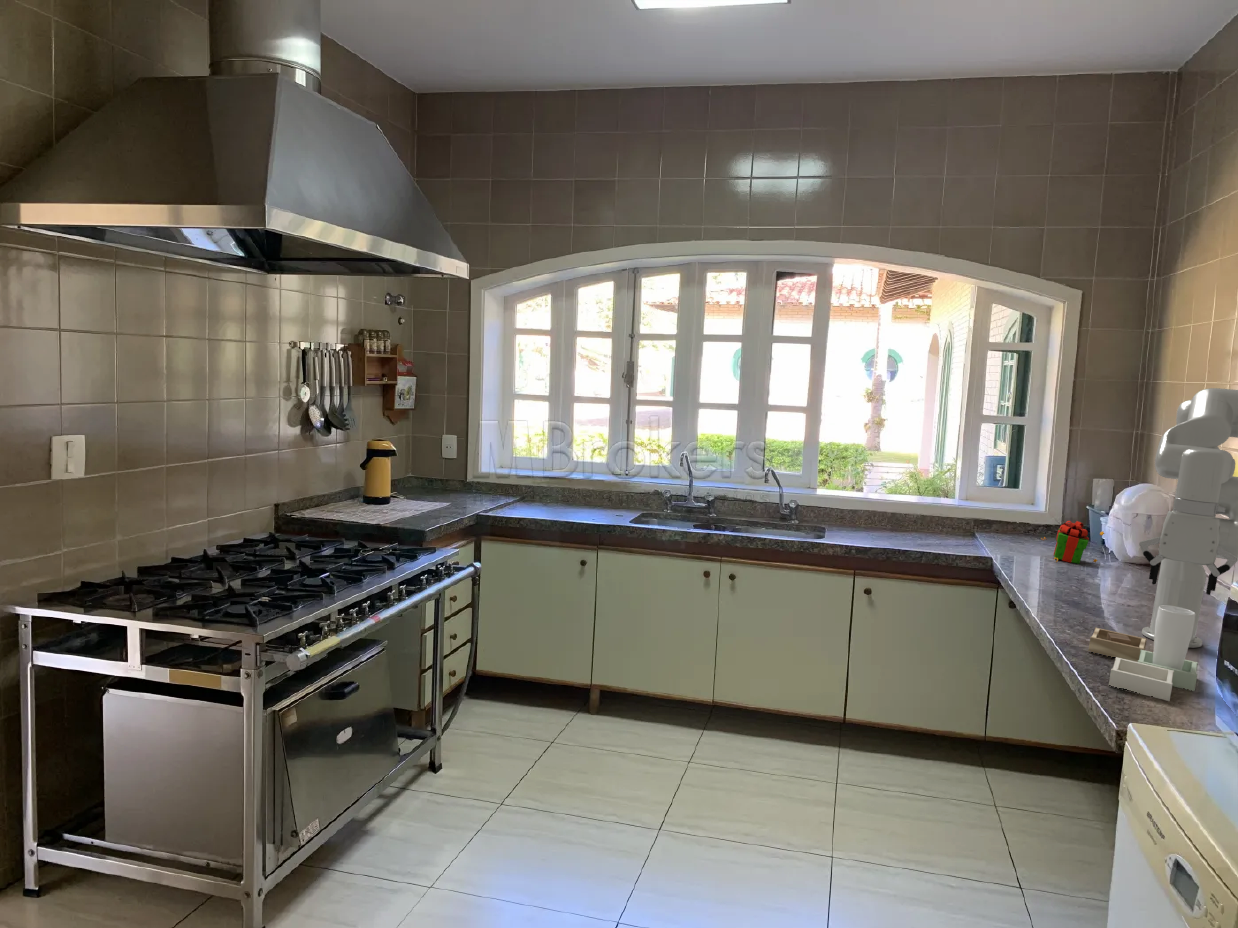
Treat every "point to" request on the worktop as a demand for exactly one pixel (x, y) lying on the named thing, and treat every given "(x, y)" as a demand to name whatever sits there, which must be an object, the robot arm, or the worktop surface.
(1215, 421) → the robot arm
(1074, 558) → the gift wrap
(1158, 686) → the cream frame
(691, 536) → the worktop surface
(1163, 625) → the white cup
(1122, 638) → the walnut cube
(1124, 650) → the beech frame
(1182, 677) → the sage frame
